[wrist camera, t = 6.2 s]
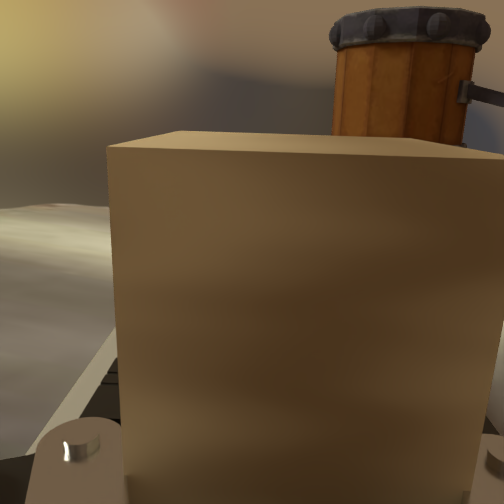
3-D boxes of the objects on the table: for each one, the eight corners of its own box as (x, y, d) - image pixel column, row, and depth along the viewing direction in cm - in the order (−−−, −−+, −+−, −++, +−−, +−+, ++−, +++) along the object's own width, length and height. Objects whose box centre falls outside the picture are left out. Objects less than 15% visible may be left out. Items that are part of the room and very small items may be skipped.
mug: (552, 281, 41) (608, 21, 35) (510, 337, 30) (581, -24, 24) (348, 238, 53) (366, 39, 47) (266, 268, 42) (276, 14, 36)
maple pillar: (143, 845, 8) (106, 146, 5) (184, 597, 13) (179, 130, 9) (401, 860, 8) (533, 160, 5) (354, 606, 13) (410, 137, 9)
